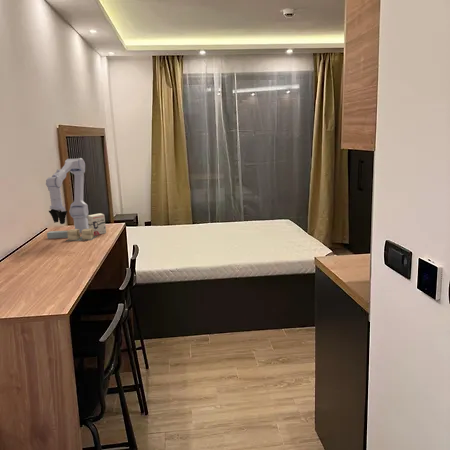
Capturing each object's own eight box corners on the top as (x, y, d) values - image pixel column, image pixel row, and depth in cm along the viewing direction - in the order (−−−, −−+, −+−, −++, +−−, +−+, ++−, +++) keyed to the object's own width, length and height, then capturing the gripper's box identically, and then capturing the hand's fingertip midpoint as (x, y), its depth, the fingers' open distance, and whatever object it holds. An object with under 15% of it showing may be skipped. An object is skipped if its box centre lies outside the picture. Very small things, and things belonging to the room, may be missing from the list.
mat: (72, 237, 249) (72, 236, 249) (97, 236, 249) (97, 235, 249) (64, 242, 239) (64, 241, 238) (91, 240, 238) (91, 240, 238)
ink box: (93, 236, 249) (91, 216, 247) (89, 235, 253) (87, 215, 250) (106, 233, 255) (104, 213, 252) (102, 232, 258) (100, 213, 256)
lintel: (47, 239, 248) (46, 232, 247) (50, 238, 252) (49, 231, 251) (68, 238, 247) (67, 232, 247) (71, 237, 251) (70, 230, 251)
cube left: (71, 238, 246) (70, 229, 245) (80, 237, 246) (79, 229, 245) (68, 240, 241) (67, 231, 240) (77, 239, 241) (76, 231, 240)
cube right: (85, 237, 245) (84, 228, 244) (94, 237, 245) (93, 228, 244) (82, 239, 241) (81, 230, 240) (91, 239, 240) (90, 230, 239)
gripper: (43, 199, 239) (46, 222, 242) (54, 200, 229) (58, 225, 232) (55, 197, 244) (58, 220, 247) (67, 198, 234) (70, 223, 237)
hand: (59, 223), depth 240 cm, fingers open, 7 cm apart
